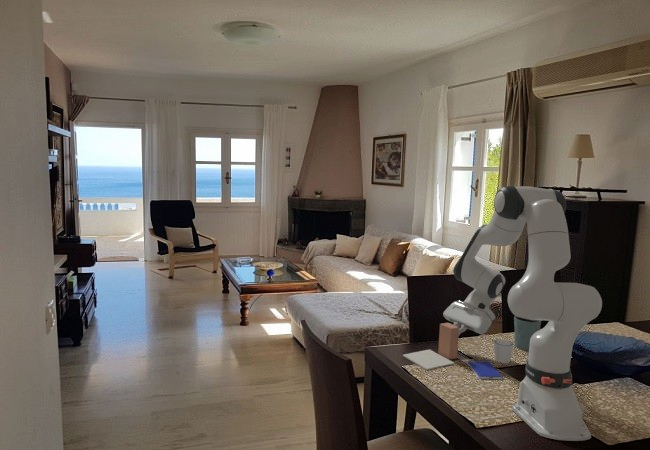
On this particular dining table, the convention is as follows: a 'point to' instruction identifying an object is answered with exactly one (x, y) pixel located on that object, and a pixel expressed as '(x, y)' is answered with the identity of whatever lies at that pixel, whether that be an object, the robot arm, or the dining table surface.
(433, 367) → the mat
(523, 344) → the teal bucket
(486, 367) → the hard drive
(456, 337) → the block
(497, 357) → the shot glass
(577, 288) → the robot arm
